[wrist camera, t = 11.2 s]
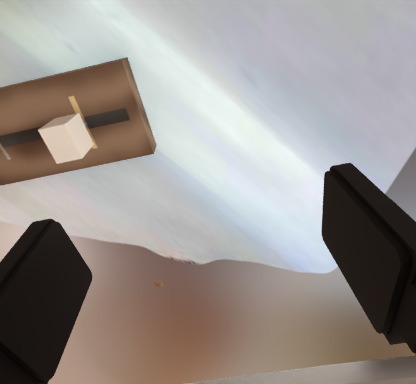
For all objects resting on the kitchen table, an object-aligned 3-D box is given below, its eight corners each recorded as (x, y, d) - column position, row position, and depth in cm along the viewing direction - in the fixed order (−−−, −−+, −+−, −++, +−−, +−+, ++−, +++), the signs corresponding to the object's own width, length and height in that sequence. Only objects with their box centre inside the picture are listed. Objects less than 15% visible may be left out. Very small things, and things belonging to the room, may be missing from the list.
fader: (64, 111, 33) (37, 130, 28) (86, 106, 33) (64, 124, 28) (78, 141, 36) (56, 163, 30) (100, 136, 35) (82, 158, 30)
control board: (-47, 98, 35) (-67, 105, 33) (127, 57, 33) (121, 60, 31) (7, 176, 42) (-5, 186, 39) (156, 145, 40) (153, 153, 37)
